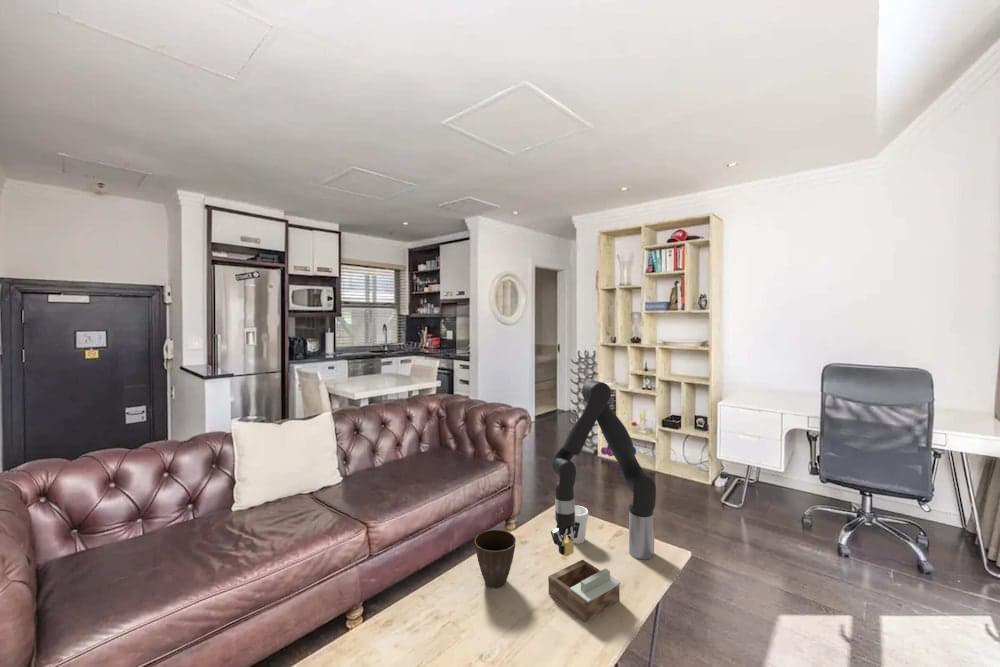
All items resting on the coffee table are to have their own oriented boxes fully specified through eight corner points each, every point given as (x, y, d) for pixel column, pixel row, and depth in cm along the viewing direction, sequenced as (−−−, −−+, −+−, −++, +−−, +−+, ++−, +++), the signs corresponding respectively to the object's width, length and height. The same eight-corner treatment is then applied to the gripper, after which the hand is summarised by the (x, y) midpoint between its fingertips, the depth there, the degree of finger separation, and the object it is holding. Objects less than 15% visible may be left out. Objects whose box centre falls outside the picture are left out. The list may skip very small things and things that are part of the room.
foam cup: (591, 537, 188) (591, 508, 187) (583, 547, 180) (583, 517, 179) (571, 532, 193) (571, 503, 192) (562, 541, 185) (562, 512, 185)
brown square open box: (582, 576, 161) (582, 559, 161) (619, 600, 147) (619, 582, 147) (548, 594, 151) (548, 576, 151) (584, 622, 137) (584, 602, 137)
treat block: (566, 548, 171) (565, 536, 171) (573, 552, 168) (573, 540, 168) (559, 552, 169) (558, 539, 168) (566, 556, 165) (565, 544, 165)
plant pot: (505, 566, 168) (504, 526, 167) (523, 588, 155) (523, 544, 154) (469, 576, 162) (468, 535, 161) (485, 600, 148) (484, 555, 147)
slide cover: (602, 572, 152) (602, 562, 152) (620, 583, 146) (620, 573, 145) (569, 589, 143) (569, 579, 143) (587, 602, 136) (587, 591, 136)
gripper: (571, 500, 174) (572, 541, 175) (544, 511, 166) (546, 554, 167) (584, 506, 168) (586, 549, 169) (558, 518, 160) (559, 563, 161)
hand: (566, 551), depth 168 cm, fingers closed on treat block, 4 cm apart
